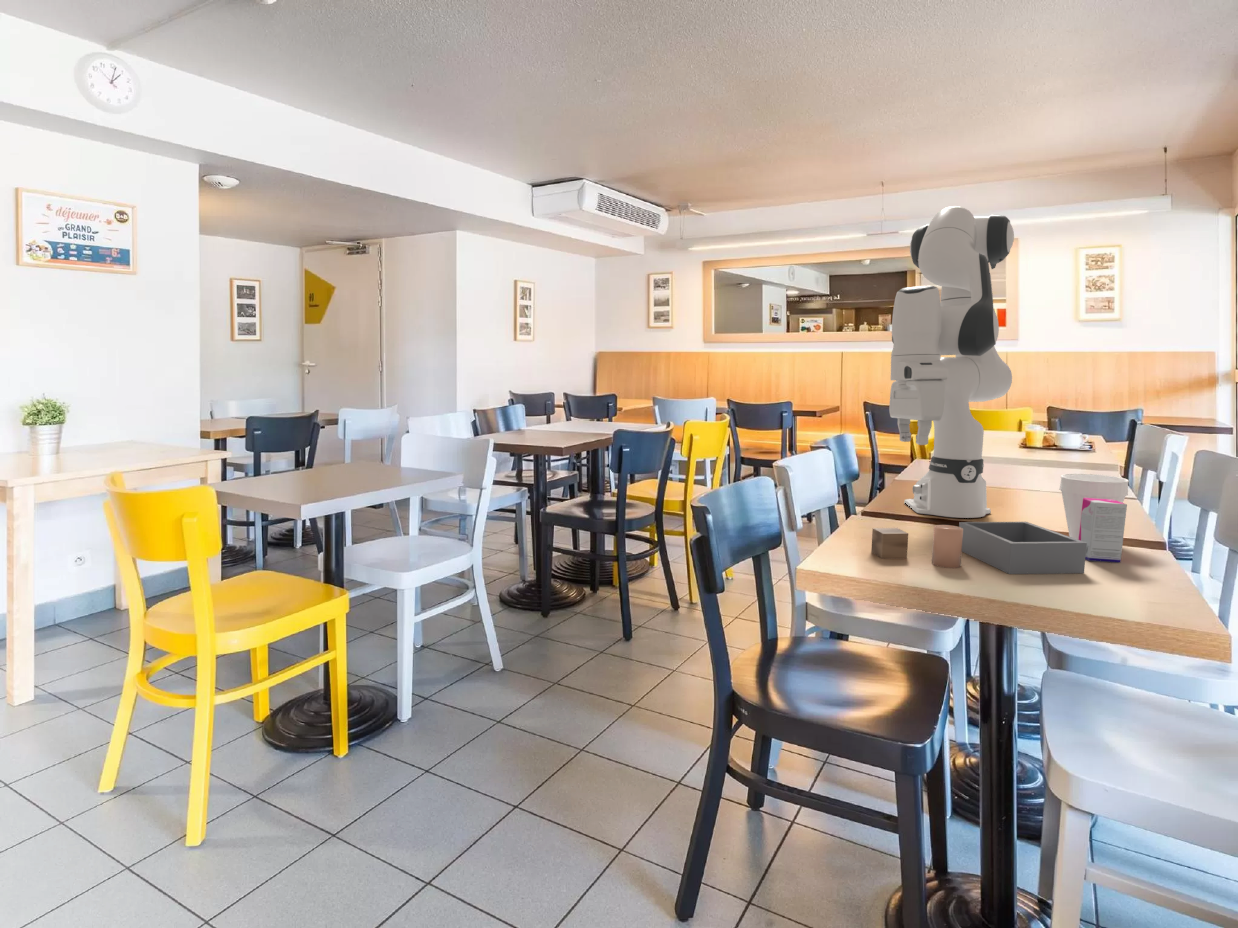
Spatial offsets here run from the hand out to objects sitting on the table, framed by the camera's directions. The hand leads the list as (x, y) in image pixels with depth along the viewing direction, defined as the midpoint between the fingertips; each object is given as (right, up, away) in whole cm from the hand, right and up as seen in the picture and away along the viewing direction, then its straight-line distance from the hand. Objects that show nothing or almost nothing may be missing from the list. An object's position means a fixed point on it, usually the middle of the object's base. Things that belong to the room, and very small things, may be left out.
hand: (913, 443), depth 143 cm
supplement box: (+36, -23, +1) cm, 43 cm away
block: (-4, -22, +2) cm, 22 cm away
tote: (+19, -23, -1) cm, 30 cm away
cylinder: (+4, -23, -4) cm, 24 cm away
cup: (+43, -21, +15) cm, 50 cm away
